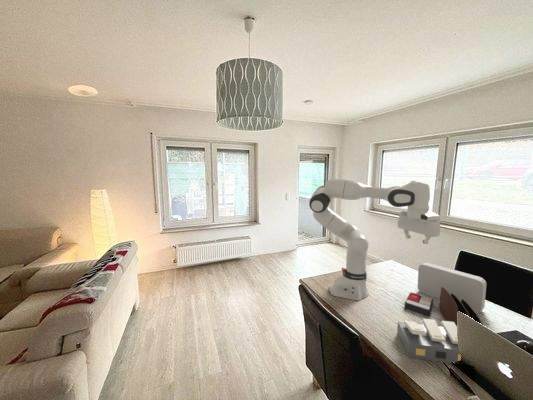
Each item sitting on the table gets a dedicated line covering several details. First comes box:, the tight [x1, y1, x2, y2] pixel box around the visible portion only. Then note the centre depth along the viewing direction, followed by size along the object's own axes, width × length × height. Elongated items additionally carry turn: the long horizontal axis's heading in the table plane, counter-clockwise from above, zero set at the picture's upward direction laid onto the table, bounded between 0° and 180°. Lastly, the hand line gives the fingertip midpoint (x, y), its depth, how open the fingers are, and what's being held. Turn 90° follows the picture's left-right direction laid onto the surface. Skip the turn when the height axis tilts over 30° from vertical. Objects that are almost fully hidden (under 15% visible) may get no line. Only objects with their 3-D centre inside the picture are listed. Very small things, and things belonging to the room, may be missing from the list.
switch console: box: [396, 321, 461, 364], centre depth 90 cm, size 22×13×7 cm, turn 76°
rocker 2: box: [421, 318, 446, 342], centre depth 90 cm, size 4×9×2 cm, turn 166°
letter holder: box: [438, 287, 484, 326], centre depth 104 cm, size 10×20×14 cm, turn 158°
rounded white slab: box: [417, 262, 487, 315], centre depth 123 cm, size 29×8×18 cm, turn 33°
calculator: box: [404, 291, 434, 318], centre depth 119 cm, size 11×4×15 cm
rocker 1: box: [403, 320, 425, 335], centre depth 91 cm, size 4×9×2 cm, turn 166°
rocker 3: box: [440, 320, 458, 344], centre depth 88 cm, size 4×9×2 cm, turn 166°
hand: (416, 240), depth 110 cm, fingers open, 8 cm apart
